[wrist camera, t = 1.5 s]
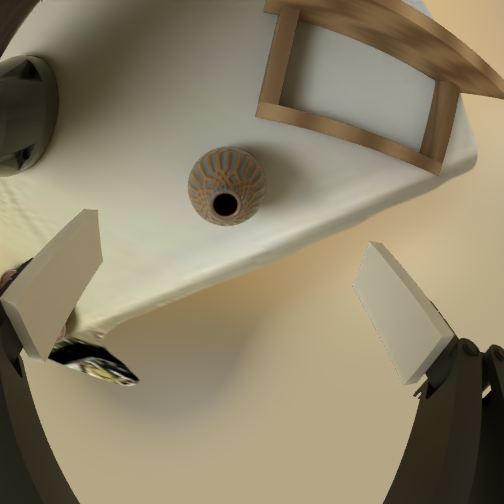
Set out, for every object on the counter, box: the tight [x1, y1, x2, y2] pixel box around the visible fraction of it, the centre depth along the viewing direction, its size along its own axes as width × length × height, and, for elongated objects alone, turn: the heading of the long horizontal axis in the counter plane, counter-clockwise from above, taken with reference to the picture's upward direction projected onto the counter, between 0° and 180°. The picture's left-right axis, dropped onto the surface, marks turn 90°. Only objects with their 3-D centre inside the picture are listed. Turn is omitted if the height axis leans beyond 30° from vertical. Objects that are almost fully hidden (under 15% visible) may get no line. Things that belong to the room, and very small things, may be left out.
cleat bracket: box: [255, 0, 504, 176], centre depth 18 cm, size 24×13×10 cm, turn 79°
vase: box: [188, 147, 266, 226], centre depth 23 cm, size 7×7×9 cm
